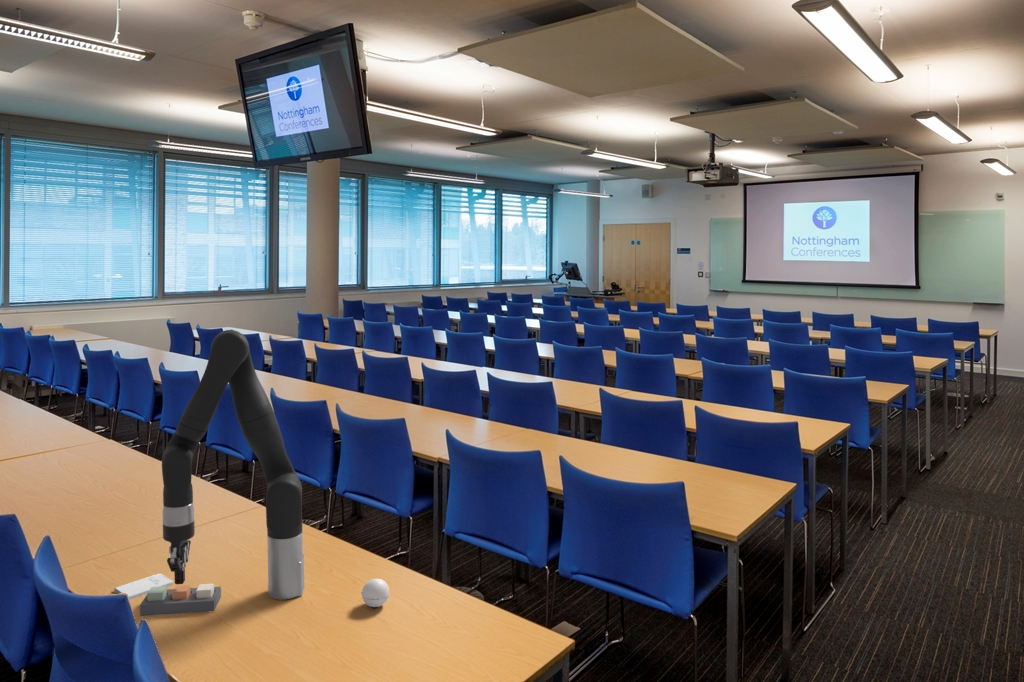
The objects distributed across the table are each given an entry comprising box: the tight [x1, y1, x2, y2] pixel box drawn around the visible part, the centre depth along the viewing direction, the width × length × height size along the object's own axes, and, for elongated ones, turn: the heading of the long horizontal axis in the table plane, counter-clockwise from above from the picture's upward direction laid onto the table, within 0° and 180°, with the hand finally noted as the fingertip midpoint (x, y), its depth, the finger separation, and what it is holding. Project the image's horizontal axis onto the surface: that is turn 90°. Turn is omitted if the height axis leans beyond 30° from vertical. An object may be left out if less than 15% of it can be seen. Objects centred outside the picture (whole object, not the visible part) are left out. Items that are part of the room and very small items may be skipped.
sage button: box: [146, 586, 167, 601], centre depth 185 cm, size 4×4×3 cm
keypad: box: [139, 586, 222, 617], centre depth 187 cm, size 18×8×3 cm, turn 100°
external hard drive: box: [113, 572, 174, 600], centre depth 197 cm, size 2×8×12 cm
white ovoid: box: [359, 578, 390, 608], centre depth 188 cm, size 10×7×7 cm
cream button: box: [196, 583, 215, 598], centre depth 188 cm, size 4×4×3 cm
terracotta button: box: [172, 584, 191, 600], centre depth 187 cm, size 4×4×3 cm
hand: (179, 582), depth 186 cm, fingers closed
